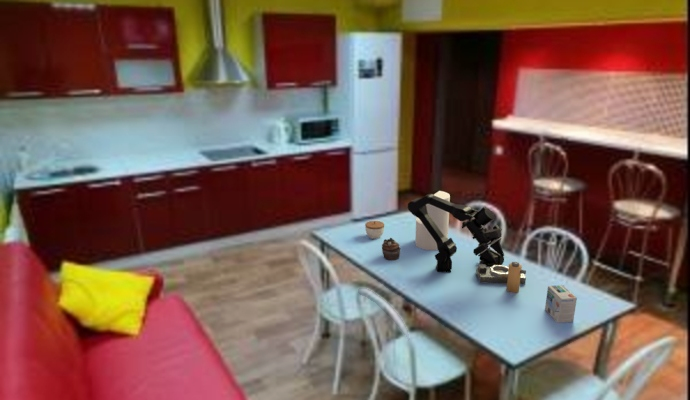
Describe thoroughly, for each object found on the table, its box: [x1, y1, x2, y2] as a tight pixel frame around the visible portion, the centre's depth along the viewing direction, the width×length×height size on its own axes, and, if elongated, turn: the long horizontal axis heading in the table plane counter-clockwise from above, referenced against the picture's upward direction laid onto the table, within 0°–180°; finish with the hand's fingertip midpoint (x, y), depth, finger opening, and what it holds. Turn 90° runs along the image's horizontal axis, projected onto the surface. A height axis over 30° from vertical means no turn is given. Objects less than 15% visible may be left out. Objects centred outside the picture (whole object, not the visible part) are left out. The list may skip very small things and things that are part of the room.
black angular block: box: [479, 248, 505, 267], centre depth 235 cm, size 10×7×7 cm
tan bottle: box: [506, 261, 527, 294], centre depth 208 cm, size 7×5×13 cm
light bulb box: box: [544, 284, 578, 324], centre depth 189 cm, size 11×7×11 cm, turn 5°
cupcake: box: [381, 237, 402, 261], centre depth 244 cm, size 10×10×10 cm
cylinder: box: [414, 190, 451, 251], centre depth 256 cm, size 17×17×28 cm
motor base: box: [475, 263, 527, 285], centre depth 220 cm, size 20×10×5 cm, turn 85°
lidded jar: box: [364, 220, 385, 240], centre depth 270 cm, size 11×11×9 cm
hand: (499, 259), depth 211 cm, fingers open, 9 cm apart
